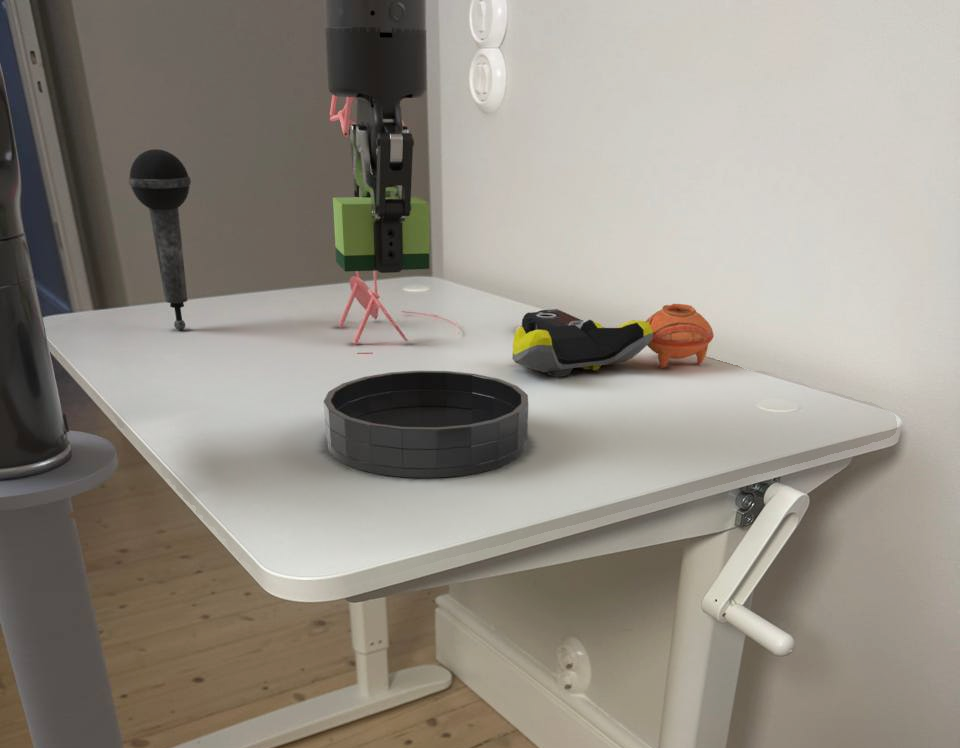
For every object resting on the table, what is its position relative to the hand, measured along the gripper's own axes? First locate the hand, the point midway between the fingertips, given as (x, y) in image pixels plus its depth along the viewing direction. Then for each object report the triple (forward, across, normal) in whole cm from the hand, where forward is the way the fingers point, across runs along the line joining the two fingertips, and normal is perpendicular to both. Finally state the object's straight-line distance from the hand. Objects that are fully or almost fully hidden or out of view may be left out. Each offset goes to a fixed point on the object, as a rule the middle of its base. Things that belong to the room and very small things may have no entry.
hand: (383, 265), depth 82 cm
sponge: (0, 0, 0) cm, 0 cm away
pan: (+14, +4, +3) cm, 15 cm away
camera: (+14, -31, +27) cm, 43 cm away
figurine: (+14, -37, +9) cm, 40 cm away
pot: (+14, -15, +35) cm, 41 cm away
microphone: (+14, -44, -17) cm, 50 cm away
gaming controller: (+14, -15, +23) cm, 31 cm away
